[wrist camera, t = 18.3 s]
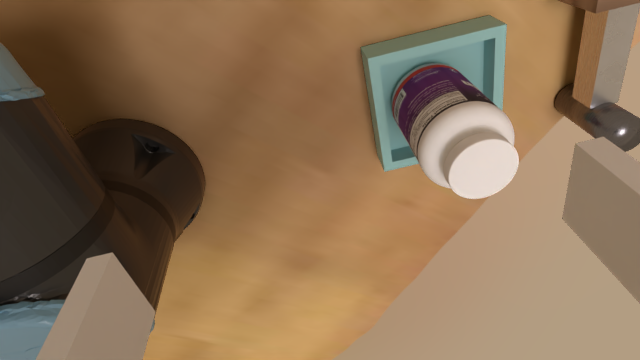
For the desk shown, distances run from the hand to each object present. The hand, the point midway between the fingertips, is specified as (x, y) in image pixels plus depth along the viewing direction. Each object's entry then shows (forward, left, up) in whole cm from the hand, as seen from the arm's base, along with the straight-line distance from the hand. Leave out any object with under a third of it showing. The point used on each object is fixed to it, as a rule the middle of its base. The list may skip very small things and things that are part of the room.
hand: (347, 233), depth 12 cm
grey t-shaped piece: (+28, -10, -31) cm, 43 cm away
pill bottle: (+11, -12, -31) cm, 35 cm away
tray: (+12, -12, -32) cm, 36 cm away
